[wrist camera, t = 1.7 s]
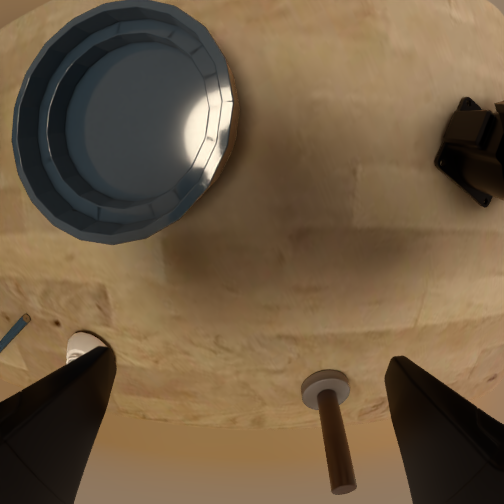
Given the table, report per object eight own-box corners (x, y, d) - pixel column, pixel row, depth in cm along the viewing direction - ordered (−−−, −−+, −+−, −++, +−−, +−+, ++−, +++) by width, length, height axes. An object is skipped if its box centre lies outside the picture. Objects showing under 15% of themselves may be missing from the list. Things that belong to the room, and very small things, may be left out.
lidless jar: (119, 374, 26) (110, 335, 25) (109, 395, 24) (97, 355, 22) (77, 364, 26) (66, 325, 25) (65, 382, 24) (51, 343, 22)
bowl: (277, 64, 17) (282, 42, 12) (186, 252, 22) (167, 284, 17) (100, 10, 15) (65, -11, 10) (36, 178, 20) (-5, 191, 15)
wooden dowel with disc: (356, 376, 26) (387, 477, 15) (330, 405, 27) (348, 502, 17) (317, 364, 25) (339, 474, 15) (292, 394, 26) (300, 499, 16)
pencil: (31, 317, 25) (-7, 358, 28) (23, 312, 24) (-12, 354, 28) (28, 324, 24) (-8, 363, 27) (21, 319, 24) (-14, 359, 27)
